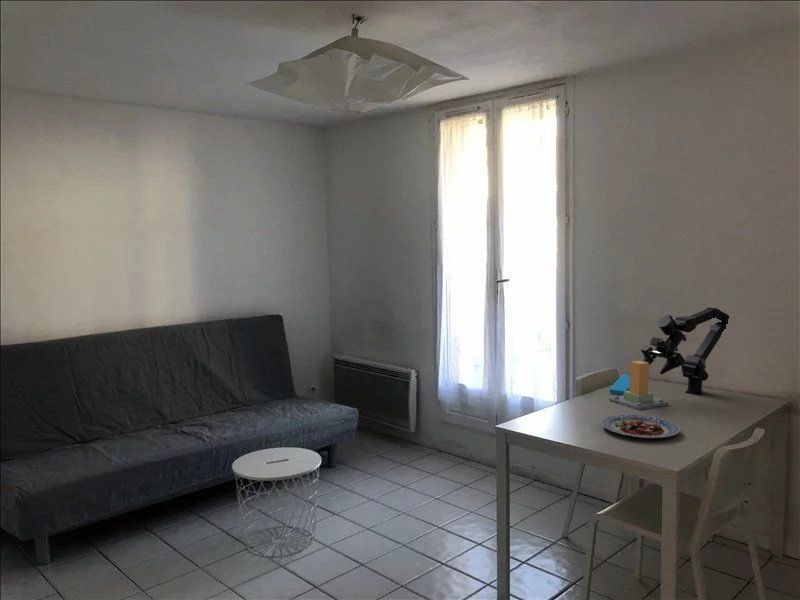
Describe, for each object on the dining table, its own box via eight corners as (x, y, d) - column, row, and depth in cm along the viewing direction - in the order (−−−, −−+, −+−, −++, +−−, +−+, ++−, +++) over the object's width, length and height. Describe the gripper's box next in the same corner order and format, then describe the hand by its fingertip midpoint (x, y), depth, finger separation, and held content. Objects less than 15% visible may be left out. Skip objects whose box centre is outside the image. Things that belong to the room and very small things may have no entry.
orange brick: (638, 390, 265) (639, 360, 263) (647, 393, 260) (648, 362, 259) (629, 391, 263) (630, 361, 261) (638, 394, 258) (639, 364, 257)
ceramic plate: (695, 435, 222) (696, 426, 222) (644, 448, 209) (645, 439, 209) (635, 416, 244) (635, 408, 244) (585, 427, 232) (586, 419, 231)
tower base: (637, 395, 273) (637, 385, 272) (668, 404, 258) (668, 394, 258) (609, 400, 266) (609, 390, 265) (639, 410, 251) (639, 399, 251)
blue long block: (626, 406, 274) (642, 386, 286) (625, 391, 272) (640, 372, 284) (610, 403, 279) (626, 384, 291) (609, 389, 276) (625, 370, 289)
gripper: (644, 327, 272) (624, 355, 269) (681, 333, 256) (660, 363, 252) (657, 343, 277) (637, 371, 273) (694, 350, 260) (674, 380, 257)
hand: (651, 371), depth 264 cm, fingers open, 9 cm apart
